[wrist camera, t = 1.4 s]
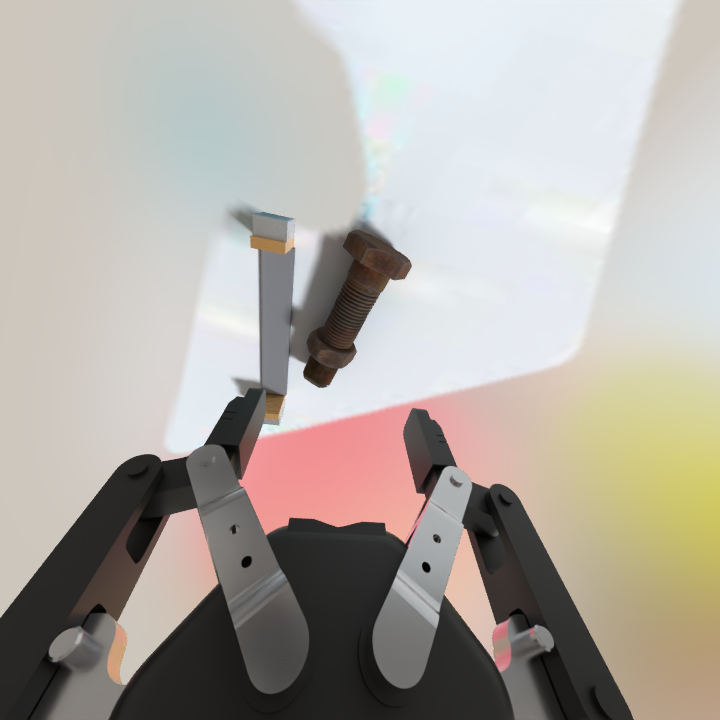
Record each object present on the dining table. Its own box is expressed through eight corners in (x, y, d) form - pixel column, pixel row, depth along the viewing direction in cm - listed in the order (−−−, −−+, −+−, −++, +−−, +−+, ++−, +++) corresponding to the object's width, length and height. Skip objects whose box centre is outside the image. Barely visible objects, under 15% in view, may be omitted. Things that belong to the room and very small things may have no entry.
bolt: (313, 357, 30) (372, 234, 23) (346, 382, 30) (418, 262, 22) (280, 374, 26) (341, 224, 18) (318, 405, 25) (399, 261, 17)
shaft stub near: (263, 212, 21) (249, 214, 18) (294, 218, 21) (286, 221, 18) (263, 241, 22) (250, 247, 19) (293, 247, 22) (285, 254, 19)
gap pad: (261, 242, 22) (261, 242, 22) (295, 248, 22) (294, 249, 22) (262, 390, 30) (262, 392, 30) (286, 393, 31) (286, 395, 30)
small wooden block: (264, 391, 30) (255, 412, 27) (285, 394, 31) (278, 414, 28) (264, 405, 32) (255, 426, 29) (284, 407, 32) (278, 428, 29)
